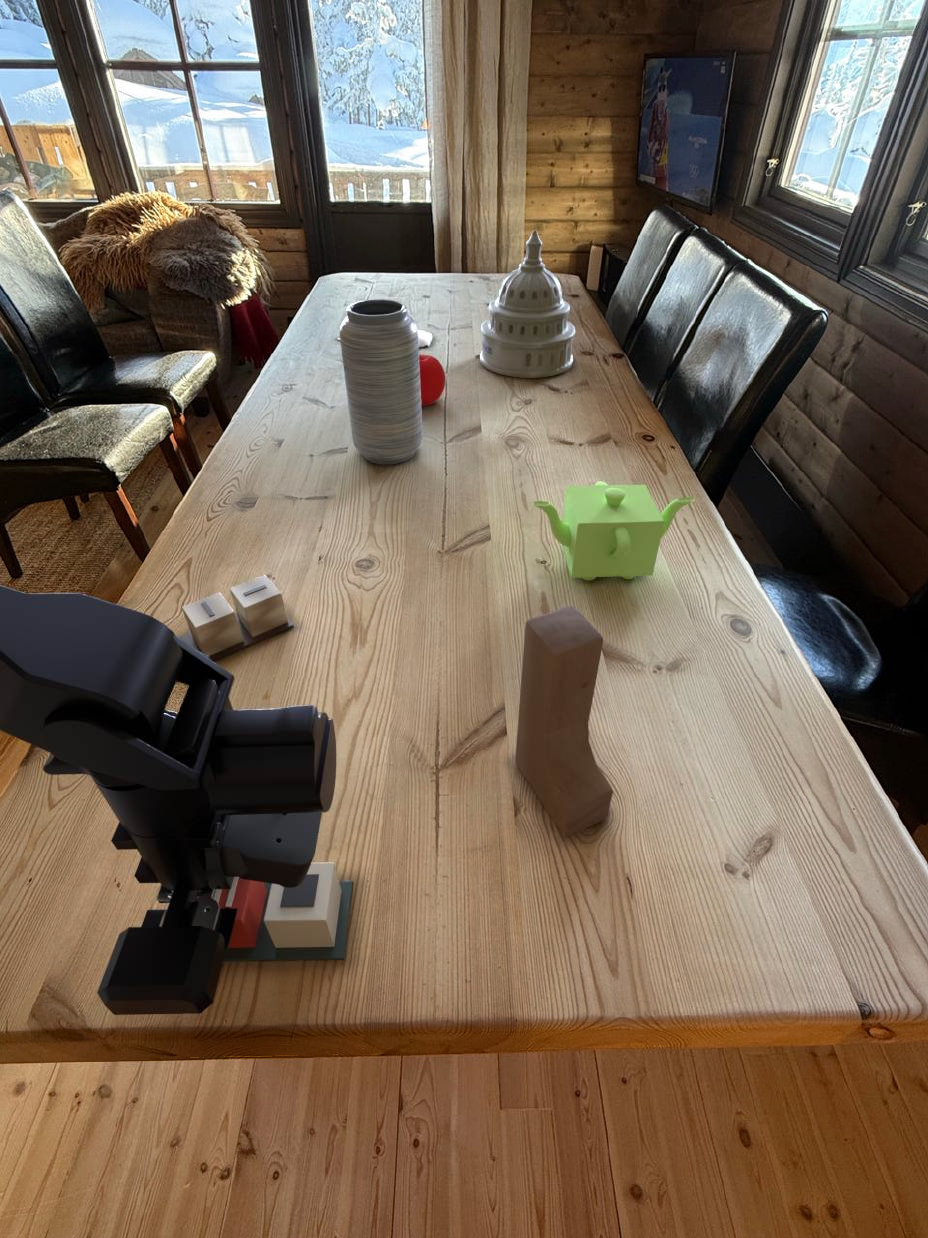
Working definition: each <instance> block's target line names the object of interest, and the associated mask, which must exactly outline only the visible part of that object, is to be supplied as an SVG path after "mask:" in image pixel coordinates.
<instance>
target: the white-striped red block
mask: <svg viewBox="0 0 928 1238" xmlns="http://www.w3.org/2000/svg"><path fill="white" fill-rule="evenodd" d="M199 892H200V891H199ZM266 894H267V889H266V887H265V884H264V882H258V881H252V880H246V879H242V878H239V877H234V880H233V883H232V887H231V889H215V892H214V896H213V899H214V900H216V901H217V902H218V904H219V907H220V908H237V909H238V910H237V914H236V918H235V922H234V926H233V930H232V934H231V938H230V942H229V945H228V947H227V948H244V947H255V944H256V939H257V935H258V930H259V926H260V921H261V917H262V912H263V908H264V903H265V899H266ZM197 898H198V897H197Z"/></svg>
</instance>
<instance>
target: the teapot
mask: <svg viewBox="0 0 928 1238" xmlns="http://www.w3.org/2000/svg"><path fill="white" fill-rule="evenodd" d="M695 500H696V499H695V498H694V497H679V498H676V499H674V500H673V501H671V502H670V503H668V505H667V506H666V507H665V508H664V509H663V511H662V512H660V511H659V509H658V507H657V504H656V502H655V501H654V497H653V496H652V494H651V493H650V491H649V489H648V487H647V485H646V484H611V485H609V484H607V483H606V482H605V481H597V482H596V483H595V484H594V485H575V486H571V485H570V486H565V492H564V500H563V511H562V519H561V518H560V514H559V512H558V510H557V508H556V506H555V505H554V504H552V503H551V502H548V501H543V500H542V501H539V500H537V501H533V502H532V504H531V505H532V506H534V507H537V508H539V509H540V510H541V511H543V512H544V513H545V514H546V516H547V519H548V522H549V527H550V530H551V533H552V535H553V537H554V539H555V540H556V541H557V542H558V543H559V544H560V545H561V546H562V549H563V554H564V556H565V559H566V565H567V568H568V571H569V575H570V578H572V579H575V578H576V579H577V578H579V579H582V580H584V581H593V580H595V579H597V578H606V577H608V578H609V577H620V578H622V579H624V580H633V579H635V578H636V577H640V576H643V577H644V576H653V575H654V570H655V566H656V562H657V557H658V554H659V553H658V552H659V549H660V543H661V539H662V538H663V537H664V536H665V535H666V534H667V532H668V530H669V529H670V526H671V524H672V522H673V520H674V518H675V516H676V515H677V513H678V512H679V511H680V510H681V509H683V507H685V506H686V505H687V506H688V505H689V504H691V503H694V502H695Z"/></svg>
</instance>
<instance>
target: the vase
mask: <svg viewBox="0 0 928 1238" xmlns="http://www.w3.org/2000/svg"><path fill="white" fill-rule="evenodd" d="M346 315H347V316H346V317H345V318H344V319H343V321H342V322H341V324H340V327H339V333H338V334H339V338H340V340H339V341H340V342H339V343H340V351H341V357H342V358H341V359H342V366H343V374H344V382H345V388H346V399H347V406H348V407H347V408H348V415H349V422H350V423H349V424H350V431H351V438H352V439H351V440H352V443H353V446H354V447H355V449H356V450H357V451H358V452H359V453H360V454H361V455H362V456H363V457H364V458H365V460H367V461H368V462H370V463H373V464H376V465H387V466H388V465H397V464H401V463H405V462H406V461H408V460H410V459H412V457H414V455H415V454H416V452H417V451H418V449H419V448H420V447H421V445H422V443H423V439H424V431H423V429H424V428H423V427H424V426H423V410H422V409H423V408H422V407H423V406H421V385H420V365H419V355H420V347H419V344H418V330H419V329H418V325H417V323H416V322H415V320H414V319H413V317H412V316H411V315H409V314H408V309H407V305H406V304H405V303H404V302H401V301H399V300H394V299H388V298H387V299H386V298H373V299H372V298H371V299H365V300H364V299H363V300H360V301H356V302H354V303H351V304H350V305H348V306H347V308H346Z"/></svg>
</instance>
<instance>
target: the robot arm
mask: <svg viewBox="0 0 928 1238" xmlns="http://www.w3.org/2000/svg"><path fill="white" fill-rule="evenodd" d="M209 658H210V656H208V655H206V654H204V653H202V652H200V651H198V650H196V649H195V648H193V647H192V646H190V645H189V644H187V643H186V642H184V641H183V640H181V639H180V638H178V636H177V635H176V634H175V632H174V630H172V629H171V628H169V626H167V625H166V624H165V623H164V622H162V621H160V620H158V619H157V618H155V617H154V616H151V615H148V614H146V613H144V612H141V611H138V610H135V609H132V608H129V607H126V606H123V605H119V604H116V603H113V602H110V601H107V600H104V599H101V598H97V597H94V596H91V595H88V594H85V593H79V592H66V593H65V592H64V593H61V592H58V593H56V592H55V593H54V592H51V593H47V592H46V593H45V592H44V593H43V592H42V593H27V592H23V591H20V590H17V589H15V588H11V587H7V586H4V585H1V584H0V731H1V732H3V733H4V734H7V735H9V736H12V737H14V738H16V739H18V740H20V741H23V742H25V743H27V744H30V745H32V746H34V747H36V748H39V749H41V750H43V751H45V752H47V753H49V755H48V757H47V759H46V761H45V763H44V765H43V766H42V771H43V772H44V773H45V774H47V775H49V776H60V775H62V776H64V775H65V776H66V775H87V776H89V777H90V778H91V779H92V781H93V782H94V784H95V785H96V787H97V789H98V790H99V791H100V793H101V794H102V797H103V798H104V800H105V801H106V803H107V804H108V806H109V807H110V809H111V810H112V812H113V814H114V815H115V817H116V819H117V820H118V824H117V826H116V828H115V831H114V833H113V835H112V838H111V840H110V841H111V843H112V844H113V846H114V847H115V849H116V850H117V851H121V850H123V851H126V850H128V851H129V850H132V851H133V850H136V851H137V852H138V854H139V855H140V860H139V862H138V865H137V867H136V870H135V873H134V877H135V879H136V880H137V882H138V883H139V884H160V887H159V891H158V893H157V896H156V900H157V901H158V904H168V906H167V908H164V909H163V908H162V909H159V908H158V909H157V908H156V909H153V908H152V909H147V910H146V913H145V915H144V917H143V920H142V922H141V926H128V927H127V928H126V929H124V930H123V931H121V932H120V933H119V934H118V937H117V939H116V942H115V944H114V947H113V950H112V952H111V955H110V958H109V960H108V963H107V965H106V968H105V971H104V972H103V973H104V974H103V976H102V979H101V982H100V984H99V987H98V989H97V992H96V994H97V995H98V998H99V999H100V1001H101V1002H102V1003H103V1005H104V1006H105V1007H106V1009H108V1010H109V1011H110V1013H112V1014H113V1015H114V1016H136V1015H137V1016H139V1015H141V1016H142V1015H143V1016H144V1015H197V1014H198V1015H201V1014H203V1013H204V1012H205V1011H206V1010H207V1009H208V1008H209V1007H210V1006H211V1005H213V1004H214V1001H215V996H216V993H217V989H218V985H219V980H220V977H221V974H222V973H221V972H222V968H223V965H224V963H225V962H224V951H225V950H226V949H227V947H228V945H229V942H230V938H231V934H232V930H233V926H234V922H235V918H236V914H237V910H238V909H237V908H220V907H219V904H218V902H217V901H216V900H214V899H213V896H214V892H215V889H231V887H232V883H233V880H234V877H239V878H242V879H246V880H252V881H258V882H265V883H271V884H278V885H281V886H282V887H287V888H293V887H297V886H299V885H301V884H302V883H303V881H304V880H305V878H306V875H307V873H308V870H309V868H310V865H311V863H313V860H314V857H315V854H316V849H317V845H318V838H319V833H320V827H321V822H322V817H323V816H322V815H323V813H328V812H329V811H330V809H331V807H332V804H333V800H334V795H335V787H336V781H337V780H336V779H337V738H336V729H335V724H334V719H333V718H330V717H329V715H328V713H326V712H324V711H321V712H319V711H318V707H317V706H315V705H313V704H306V705H302V704H301V705H290V706H285V707H279V708H251V709H248V708H247V709H234V707H233V706H232V702H231V700H230V694H231V691H232V688H233V685H234V682H235V676H234V674H233V673H231V672H230V671H228V670H226V668H224V667H222V666H221V665H219V664H218V663H216V661H215V662H213V661H212V660H211V659H209ZM177 683H179V684H183V685H186V686H187V689H186V692H185V694H184V696H183V699H182V702H181V704H180V706H179V709H178V712H177V711H173V710H168V709H166V707H167V705H168V702H169V700H170V698H171V695H172V693H173V690H174V688H175V685H176V684H177ZM199 891H200V892H199ZM197 897H198V898H197Z"/></svg>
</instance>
